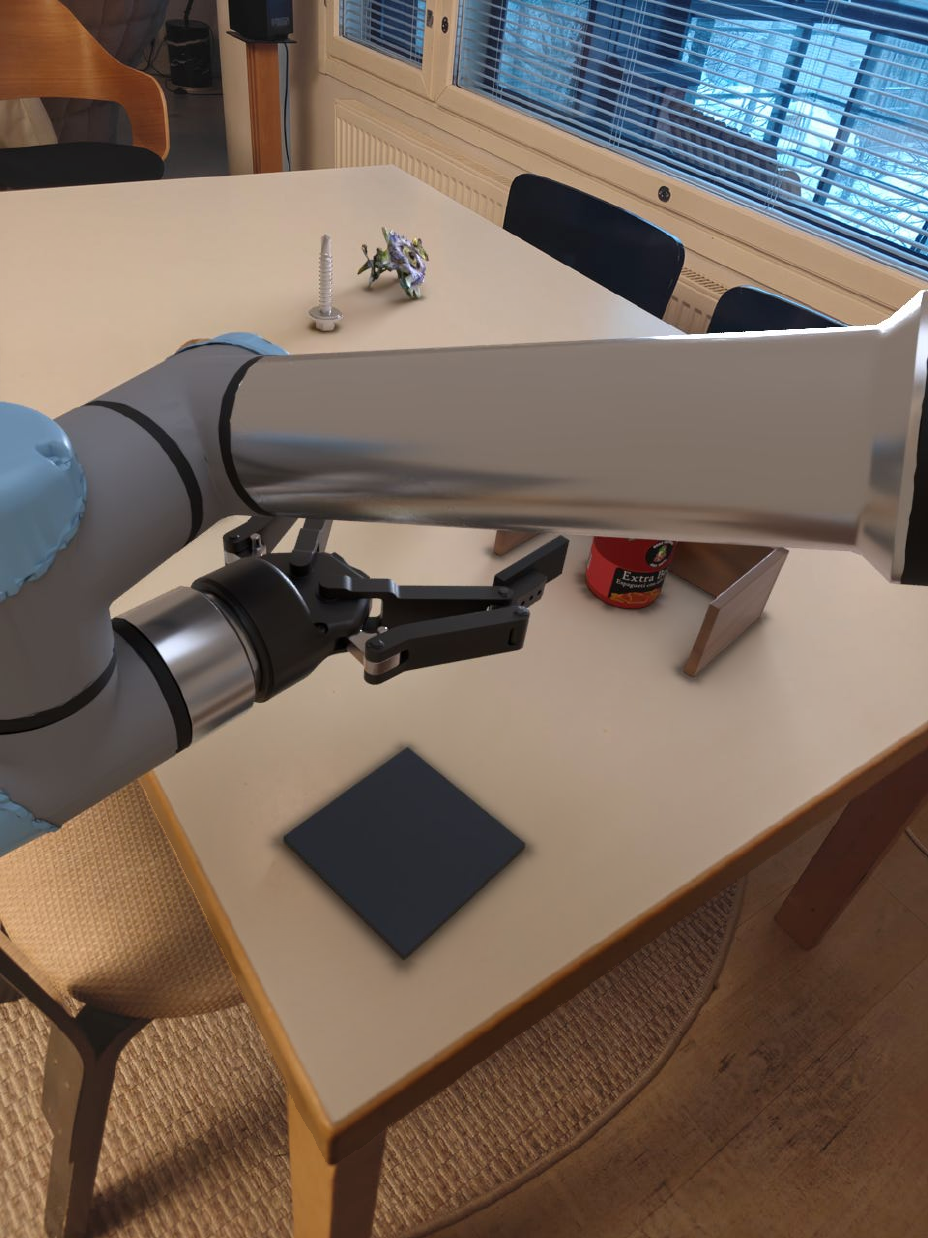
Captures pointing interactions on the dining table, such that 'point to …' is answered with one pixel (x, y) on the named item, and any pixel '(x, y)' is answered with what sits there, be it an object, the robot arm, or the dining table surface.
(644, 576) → the canned food
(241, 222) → the dining table surface
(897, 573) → the robot arm
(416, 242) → the passion flower
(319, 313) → the screw
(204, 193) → the dining table surface
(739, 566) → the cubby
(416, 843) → the mat
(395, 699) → the dining table surface
